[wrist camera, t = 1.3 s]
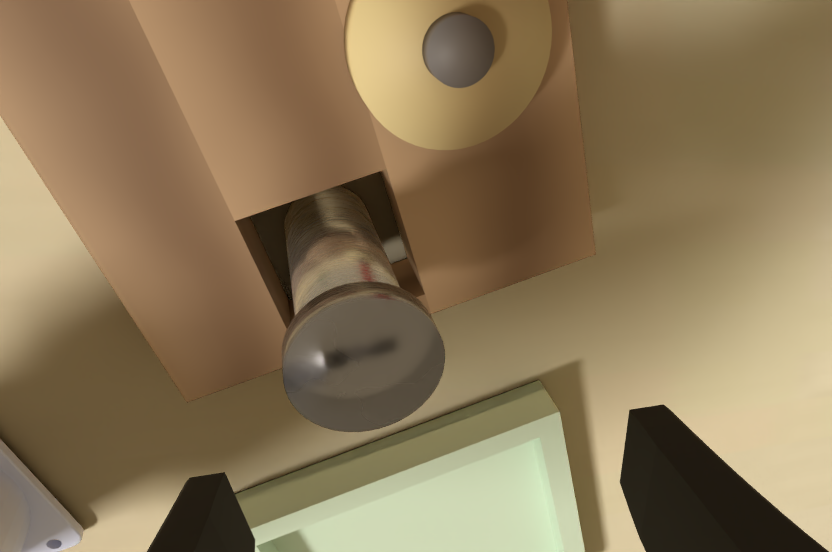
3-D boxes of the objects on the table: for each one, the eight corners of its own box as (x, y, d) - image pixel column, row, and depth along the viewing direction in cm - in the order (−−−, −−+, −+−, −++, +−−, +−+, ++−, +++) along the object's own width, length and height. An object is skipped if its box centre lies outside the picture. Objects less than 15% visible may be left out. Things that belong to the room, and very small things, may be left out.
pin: (295, 287, 21) (316, 452, 14) (254, 195, 19) (256, 336, 12) (393, 252, 21) (459, 398, 14) (362, 157, 19) (423, 276, 12)
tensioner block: (193, 355, 21) (181, 443, 17) (-27, -9, 15) (-119, 11, 11) (562, 223, 22) (624, 280, 18) (506, -172, 16) (583, -204, 12)
